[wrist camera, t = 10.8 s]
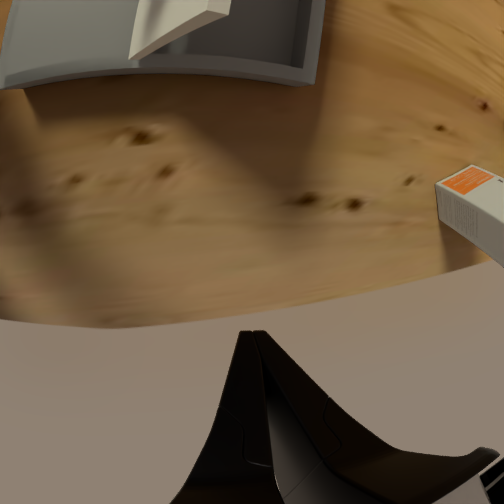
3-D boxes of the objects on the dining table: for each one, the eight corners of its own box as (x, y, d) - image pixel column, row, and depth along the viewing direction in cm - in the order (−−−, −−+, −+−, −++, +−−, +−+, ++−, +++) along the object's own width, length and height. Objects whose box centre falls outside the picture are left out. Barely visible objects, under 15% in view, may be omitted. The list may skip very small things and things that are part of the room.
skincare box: (471, 162, 22) (564, 209, 12) (473, 198, 24) (556, 252, 14) (432, 182, 22) (533, 242, 12) (436, 220, 24) (523, 288, 14)
